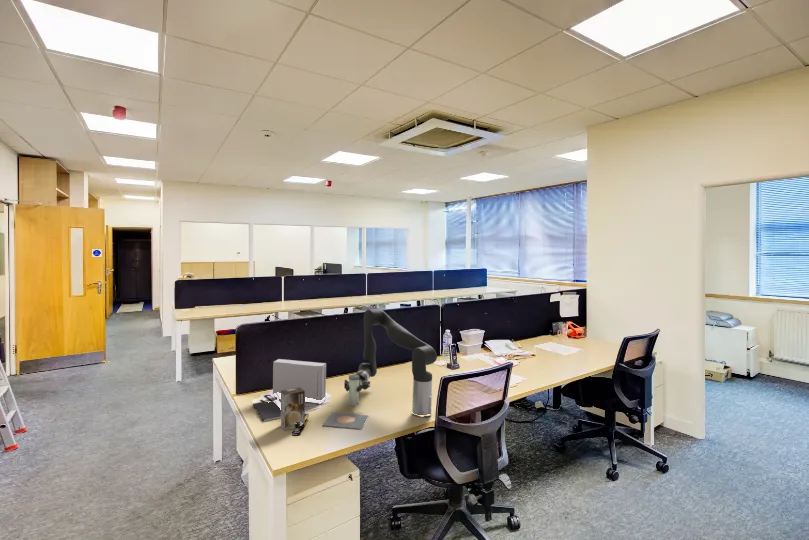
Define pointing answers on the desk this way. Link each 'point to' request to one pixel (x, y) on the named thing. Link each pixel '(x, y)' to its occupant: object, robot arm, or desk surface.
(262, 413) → the notebook
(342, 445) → the desk surface
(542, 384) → the desk surface
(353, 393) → the tube
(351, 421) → the card
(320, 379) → the game console
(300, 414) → the coffee box
